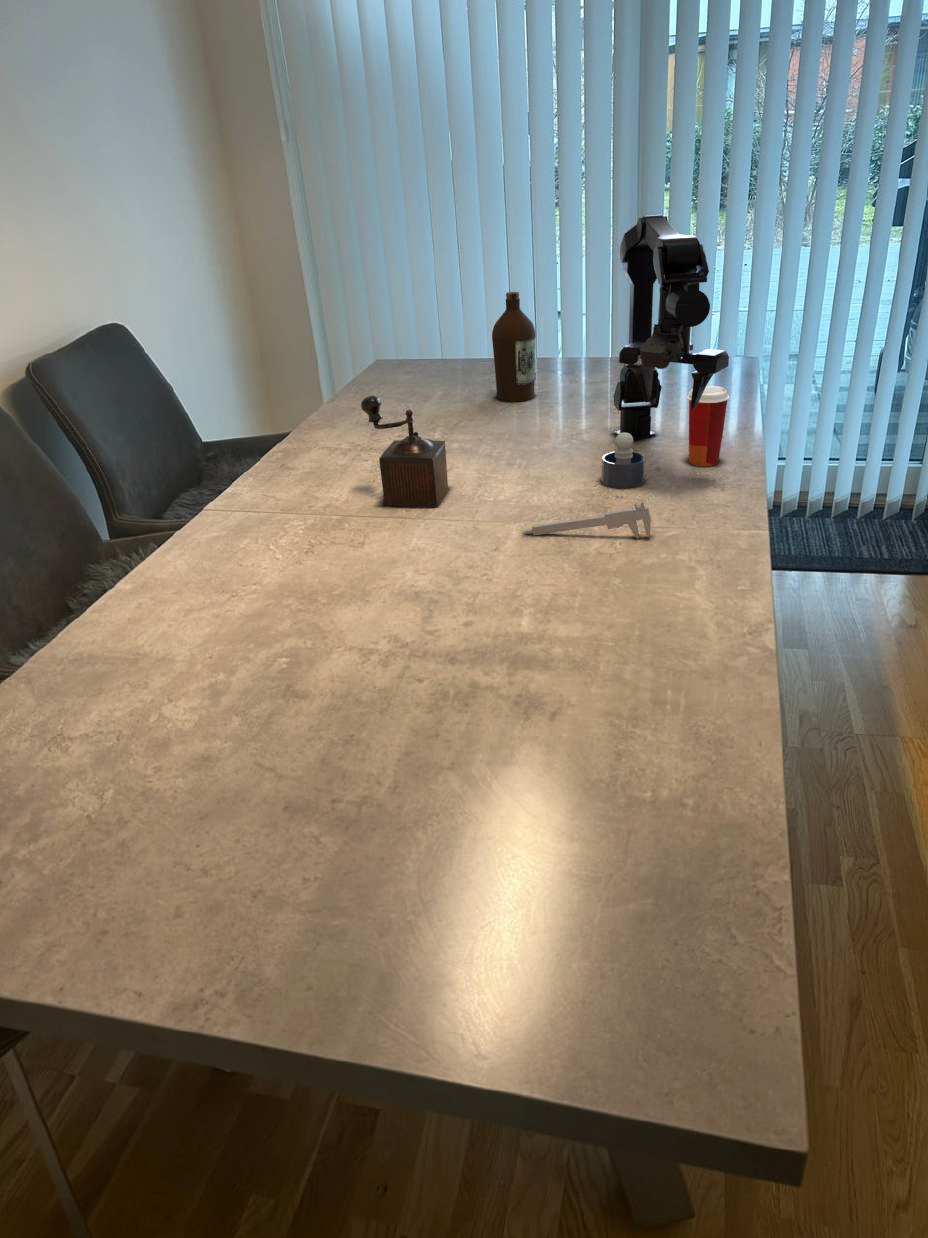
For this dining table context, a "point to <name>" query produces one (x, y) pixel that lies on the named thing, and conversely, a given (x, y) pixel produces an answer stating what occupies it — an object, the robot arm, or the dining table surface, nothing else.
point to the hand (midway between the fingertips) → (670, 405)
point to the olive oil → (514, 352)
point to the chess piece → (623, 448)
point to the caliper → (600, 521)
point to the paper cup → (707, 426)
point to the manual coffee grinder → (409, 464)
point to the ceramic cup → (622, 471)
